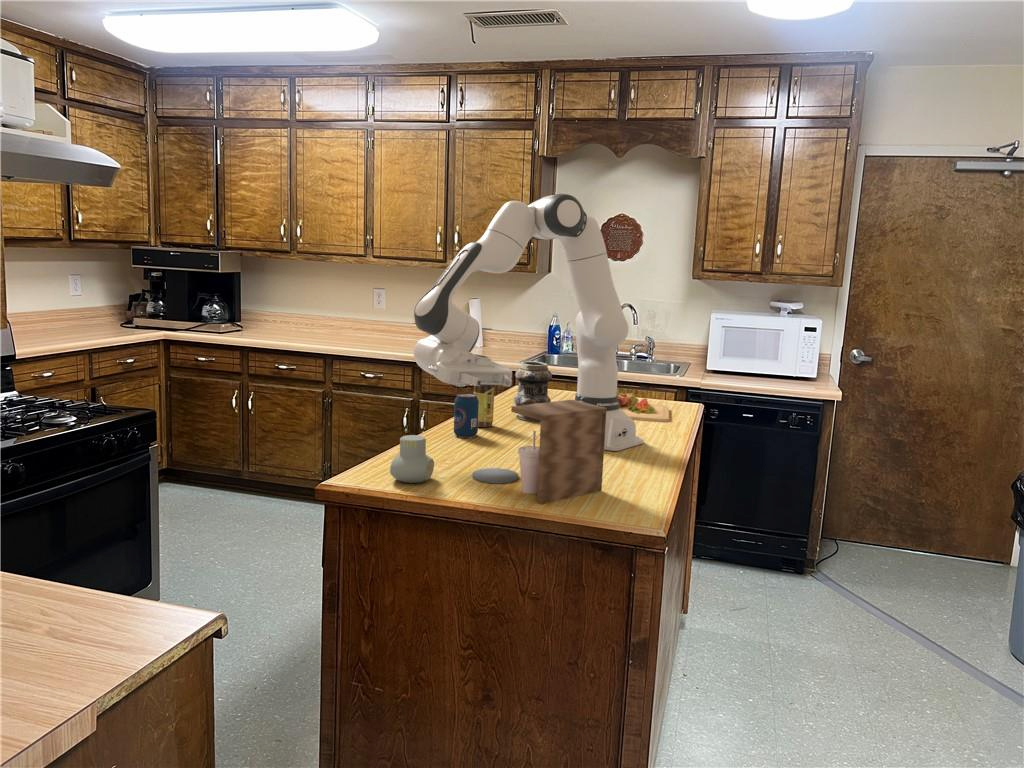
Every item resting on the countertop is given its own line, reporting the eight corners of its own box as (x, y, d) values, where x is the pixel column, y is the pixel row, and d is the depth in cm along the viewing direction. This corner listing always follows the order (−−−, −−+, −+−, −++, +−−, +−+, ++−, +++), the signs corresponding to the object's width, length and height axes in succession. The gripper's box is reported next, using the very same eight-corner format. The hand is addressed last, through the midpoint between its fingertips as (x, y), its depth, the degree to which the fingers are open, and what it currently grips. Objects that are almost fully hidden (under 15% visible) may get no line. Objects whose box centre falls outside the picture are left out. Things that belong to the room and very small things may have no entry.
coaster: (499, 468, 194) (499, 465, 194) (528, 479, 185) (528, 476, 185) (463, 474, 187) (463, 472, 187) (490, 486, 178) (490, 483, 178)
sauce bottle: (490, 429, 236) (492, 363, 233) (470, 427, 237) (472, 362, 234) (495, 424, 242) (497, 360, 239) (475, 422, 244) (477, 359, 240)
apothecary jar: (557, 420, 253) (560, 364, 250) (527, 423, 246) (529, 366, 243) (535, 412, 263) (538, 359, 260) (505, 415, 256) (507, 361, 253)
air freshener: (422, 488, 175) (423, 444, 173) (387, 485, 176) (387, 441, 175) (435, 475, 186) (436, 434, 184) (402, 472, 187) (403, 431, 185)
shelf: (568, 478, 187) (572, 399, 184) (601, 490, 178) (606, 408, 175) (508, 490, 176) (511, 406, 173) (540, 504, 167) (544, 415, 164)
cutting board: (668, 410, 279) (669, 390, 278) (668, 424, 256) (670, 401, 255) (570, 403, 285) (571, 383, 284) (562, 416, 262) (563, 394, 261)
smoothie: (524, 496, 172) (527, 434, 169) (511, 488, 177) (513, 428, 175) (549, 493, 175) (553, 432, 172) (535, 485, 180) (538, 426, 178)
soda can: (448, 435, 226) (449, 394, 224) (466, 431, 231) (467, 391, 229) (464, 439, 222) (465, 397, 220) (482, 436, 226) (484, 395, 224)
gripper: (426, 353, 185) (461, 368, 175) (492, 356, 199) (528, 371, 189) (422, 379, 187) (456, 395, 177) (488, 380, 200) (523, 396, 190)
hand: (494, 383), depth 183 cm, fingers open, 8 cm apart
